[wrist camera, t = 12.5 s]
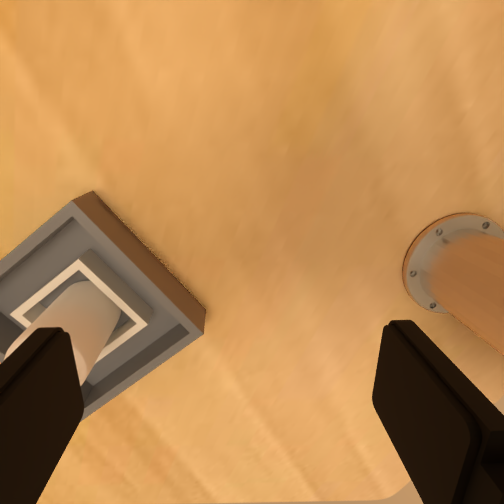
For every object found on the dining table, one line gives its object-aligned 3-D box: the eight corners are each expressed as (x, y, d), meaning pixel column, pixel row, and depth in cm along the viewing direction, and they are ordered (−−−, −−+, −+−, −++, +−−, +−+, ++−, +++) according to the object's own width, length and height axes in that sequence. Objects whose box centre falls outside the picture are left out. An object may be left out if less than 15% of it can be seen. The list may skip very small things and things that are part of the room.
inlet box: (205, 310, 39) (203, 334, 35) (96, 389, 42) (80, 421, 37) (92, 190, 34) (71, 200, 29) (-27, 291, 36) (-64, 314, 31)
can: (115, 335, 38) (71, 420, 27) (57, 321, 37) (-14, 403, 26) (129, 288, 37) (87, 357, 25) (68, 271, 35) (-4, 336, 24)
